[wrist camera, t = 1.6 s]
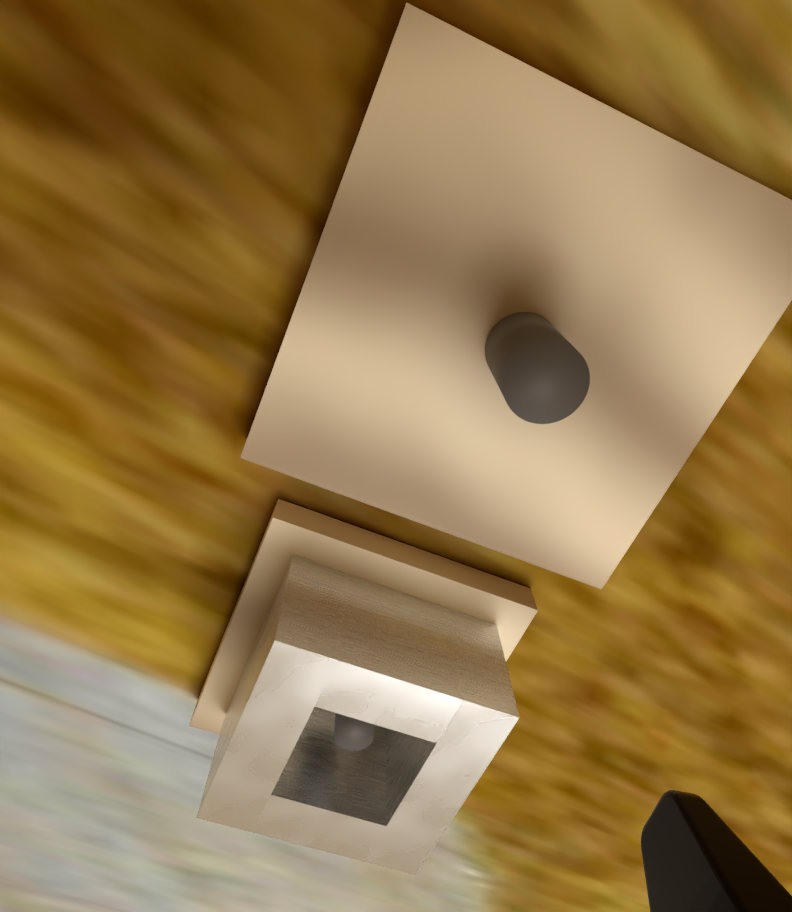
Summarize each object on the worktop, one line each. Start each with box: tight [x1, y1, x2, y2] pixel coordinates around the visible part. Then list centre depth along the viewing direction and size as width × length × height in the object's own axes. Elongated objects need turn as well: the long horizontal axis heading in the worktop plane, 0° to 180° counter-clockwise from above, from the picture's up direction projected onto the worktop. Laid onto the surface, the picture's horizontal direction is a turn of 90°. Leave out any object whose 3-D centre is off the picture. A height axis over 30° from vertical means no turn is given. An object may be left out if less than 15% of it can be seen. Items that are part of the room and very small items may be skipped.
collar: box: [197, 555, 519, 875], centre depth 21 cm, size 7×7×4 cm
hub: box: [240, 3, 792, 589], centre depth 17 cm, size 12×12×4 cm
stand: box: [189, 499, 538, 751], centre depth 22 cm, size 9×9×4 cm
